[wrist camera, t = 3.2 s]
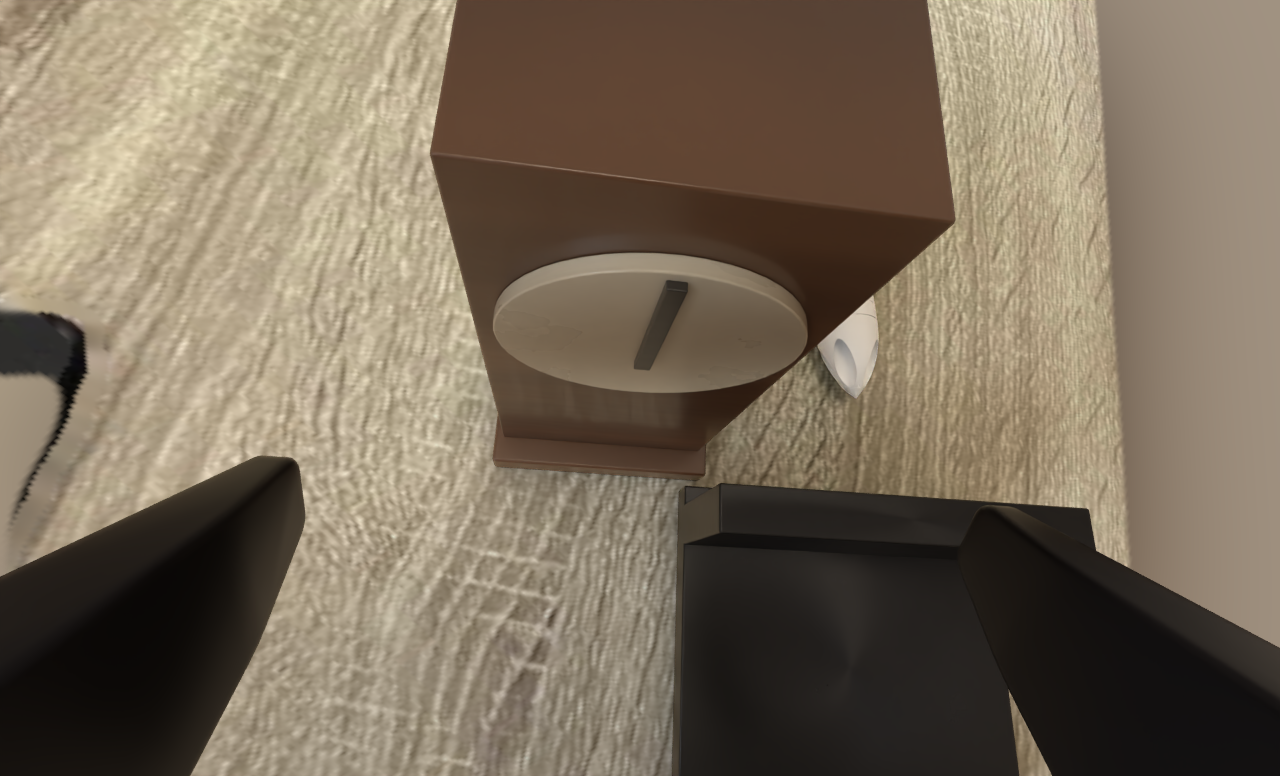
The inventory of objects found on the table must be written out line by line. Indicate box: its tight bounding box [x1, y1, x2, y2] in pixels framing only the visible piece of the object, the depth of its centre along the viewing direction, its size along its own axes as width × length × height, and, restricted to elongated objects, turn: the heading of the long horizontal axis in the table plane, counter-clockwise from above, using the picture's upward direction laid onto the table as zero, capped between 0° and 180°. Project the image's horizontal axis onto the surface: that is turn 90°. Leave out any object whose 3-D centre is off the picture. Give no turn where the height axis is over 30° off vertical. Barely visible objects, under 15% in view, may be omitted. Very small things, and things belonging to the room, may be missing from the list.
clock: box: [430, 0, 955, 480], centre depth 14 cm, size 5×6×14 cm
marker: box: [818, 296, 879, 399], centre depth 23 cm, size 18×2×2 cm, turn 2°
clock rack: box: [672, 483, 1096, 776], centre depth 17 cm, size 10×10×5 cm
